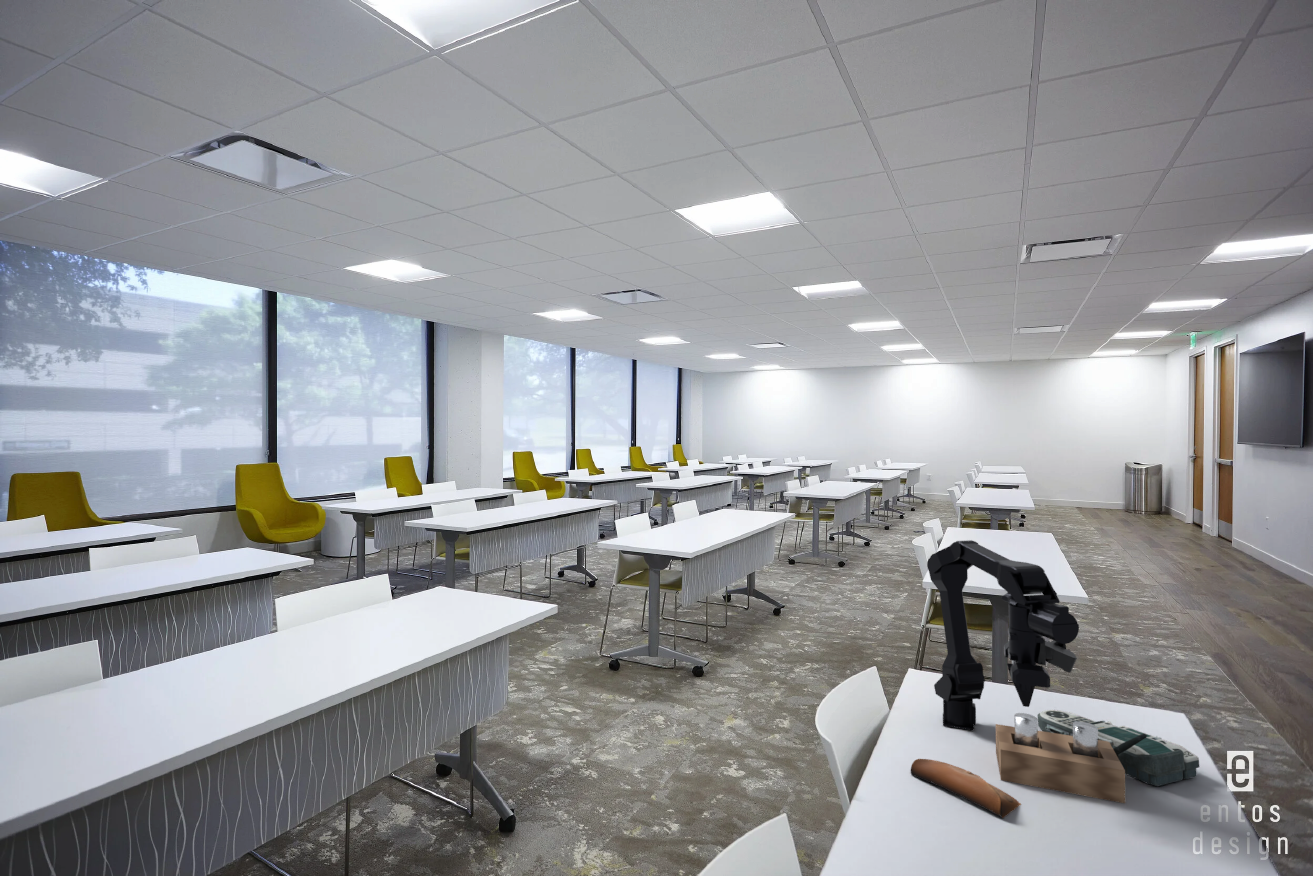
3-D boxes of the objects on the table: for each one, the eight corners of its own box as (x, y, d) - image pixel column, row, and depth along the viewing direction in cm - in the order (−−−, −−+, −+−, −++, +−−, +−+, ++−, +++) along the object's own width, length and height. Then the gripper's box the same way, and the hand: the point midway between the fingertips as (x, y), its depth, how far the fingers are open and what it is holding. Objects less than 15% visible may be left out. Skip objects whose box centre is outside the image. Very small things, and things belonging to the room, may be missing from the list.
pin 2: (1075, 759, 122) (1075, 728, 122) (1071, 750, 125) (1071, 720, 125) (1100, 764, 120) (1099, 732, 120) (1095, 754, 124) (1095, 723, 124)
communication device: (1069, 721, 150) (1068, 677, 150) (1203, 780, 123) (1201, 726, 123) (1022, 729, 146) (1021, 684, 146) (1150, 793, 119) (1149, 737, 119)
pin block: (1000, 780, 123) (1000, 749, 123) (995, 752, 134) (995, 724, 134) (1125, 803, 115) (1125, 770, 115) (1109, 771, 126) (1108, 741, 126)
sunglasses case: (1025, 803, 115) (1015, 777, 114) (1009, 835, 112) (998, 809, 110) (934, 762, 130) (923, 739, 128) (917, 789, 127) (906, 766, 125)
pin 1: (1015, 749, 126) (1015, 719, 126) (1013, 741, 130) (1013, 711, 130) (1039, 753, 124) (1038, 723, 124) (1036, 744, 128) (1036, 715, 128)
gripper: (1082, 647, 115) (1083, 733, 115) (1063, 620, 132) (1064, 694, 132) (1012, 639, 120) (1013, 722, 120) (1003, 614, 137) (1004, 686, 137)
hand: (1025, 705), depth 127 cm, fingers closed
